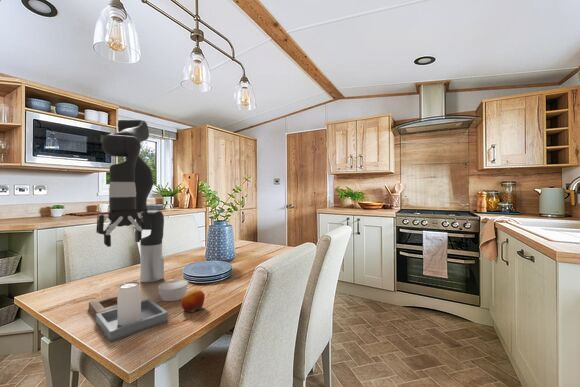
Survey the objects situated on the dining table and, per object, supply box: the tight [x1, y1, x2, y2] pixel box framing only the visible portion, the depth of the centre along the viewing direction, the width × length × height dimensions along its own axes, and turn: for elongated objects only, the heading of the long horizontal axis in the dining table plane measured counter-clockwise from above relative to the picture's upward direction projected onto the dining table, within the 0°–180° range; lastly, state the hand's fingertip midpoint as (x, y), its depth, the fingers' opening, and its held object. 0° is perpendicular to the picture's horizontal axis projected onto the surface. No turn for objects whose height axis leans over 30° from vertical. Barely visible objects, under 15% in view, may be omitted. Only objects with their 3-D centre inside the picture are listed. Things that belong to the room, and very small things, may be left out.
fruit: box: [180, 289, 206, 313], centre depth 93 cm, size 8×8×8 cm
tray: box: [95, 298, 169, 343], centre depth 84 cm, size 16×16×3 cm
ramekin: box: [157, 279, 189, 302], centre depth 104 cm, size 11×11×5 cm
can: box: [116, 281, 142, 326], centre depth 83 cm, size 6×6×12 cm
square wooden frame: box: [88, 294, 117, 318], centre depth 94 cm, size 12×12×2 cm
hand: (123, 244), depth 86 cm, fingers open, 8 cm apart
